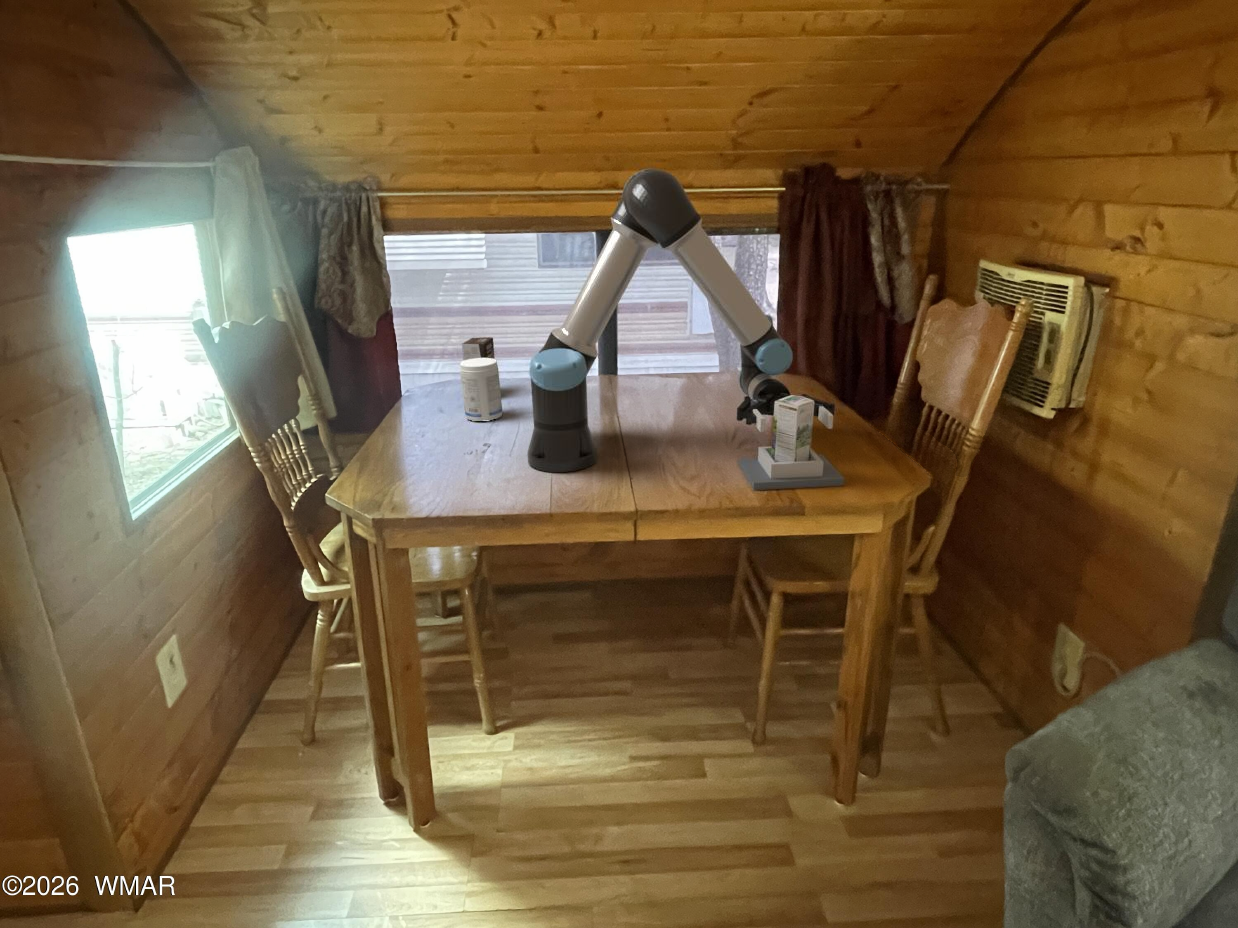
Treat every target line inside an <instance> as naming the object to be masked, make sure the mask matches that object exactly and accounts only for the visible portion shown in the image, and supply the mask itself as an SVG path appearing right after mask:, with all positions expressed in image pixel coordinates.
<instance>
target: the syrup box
mask: <svg viewBox="0 0 1238 928" xmlns="http://www.w3.org/2000/svg"><path fill="white" fill-rule="evenodd" d="M801 396H802V395H801ZM801 396H800V395H794V394H790V396H787V397H785V398H782V399H779V400H776V401H775V404H774V415H773V422H772V423H773V424H772V439H771V446H772V451H771V458H772V459H773V460H774V462H795V461H810V450H811V449H812V448H811V447H812V437H813V425H814V416H813V414H814V402H815V401H814V400H811V399H808V398H805V397H801Z"/></svg>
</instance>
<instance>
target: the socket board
mask: <svg viewBox="0 0 1238 928" xmlns="http://www.w3.org/2000/svg"><path fill="white" fill-rule="evenodd" d="M771 451H772V445H771V446H770V445H769V446H758V451H757V452H758V454H757V457H740V458H739V457H738V459H737V460H738V461H737V466H738V467H739V469H740V470H741V472H742V474H743V475H744V477H745V479H746V480H747V482H748V484H749V485H750V487H751V488H752V490H753V491H763V490H765V491H766V490H781V489H782V490H783V489H802V488H821V487H840V486H841V487H842V486H843V485H844V486H845V477H844V476H842V474H841V473H840V472H839V471H838V470H837V469H836V468H835V467H834V466H833V465H832V464H831V462H830V461H828V460H827V458H826V457H825V456H824V455H823V454H820V453H819V454H818V453H817V452H815V451H814V450H813V448H811V450H810V461H795V462H774V460H773V459H772V458H771Z"/></svg>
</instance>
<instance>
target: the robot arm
mask: <svg viewBox="0 0 1238 928" xmlns="http://www.w3.org/2000/svg"><path fill="white" fill-rule="evenodd" d="M621 195H622V196H621V197H620V198H619V199H620V200H619V201H618V203H617V204H616V207H615V209H614V211H613V213H612V214H611V216H610V221H611V225H612V229H611V230H612V231H610V234H609V235H608V238H607V240H606V242H605V244H604V245H603V247H602V249H601V251H600V253H599V255H598V256H597V259H596V261H595V262H594V264H593V267H592V268H591V270H590V271H589V273H588V276H587V277H586V280H585V282H584V284H583V285H582V287H581V289H580V291H579V293H578V295H577V297H576V299H575V300H574V302H573V305H572V306H571V308H570V310H569V312H568V314H567V316H566V317H565V319H564V322H563V324H562V326H560V327H557V328H554V329H552V330H551V332H550V333H549V335H548V337H547V339H546V341H545V343H544V345H543V346H542V347H541V349H540V350H538V352H537V353H535V354H534V355H533V356H532V358H531V359H530V362H529V363H530V364H529V377H530V383H531V385H530V386H531V387H530V388H531V404H532V419H533V431H532V434H531V437H530V438H531V439H530V441H529V445H528V450H527V463H528V465H529V466H530V467H531V466H532V468H533V469H535V468H536V470H539V471H542V472H548V473H549V472H550V473H565V472H566V473H567V472H568V471H569V472H575V471H580V470H584V469H587V468H589V467H592V466H593V465H594V464H596V463H597V461H598V449H597V446H596V443H595V441H594V440H595V439H594V438H593V435H592V432H591V430H590V427H589V418H588V413H589V411H588V391H587V390H588V389H587V385H588V384H587V376H588V374H589V372H590V370H591V369H592V366H593V365H594V362H595V361H596V359H597V358H598V356H599V355H598V354H599V353H598V350H597V346H596V345H597V343H598V342H599V339H600V337H601V336H602V334H603V332H604V331H605V328H606V326H608V323H609V321H610V319H611V317H612V316H613V314H614V311H615V310H616V308H617V306H618V304H619V303H620V301H621V299H622V297H623V296H624V294H625V292H626V290H627V288H628V287H629V286H628V285H629V284H630V282H631V281H632V279H633V276H634V275H635V273H636V271H637V269H638V268H639V265H641V261H642V260H643V258H644V256H645V254H646V253H647V251H648V249H651V248H654V247H657V246H660V247H661V248H662V249H663V250H665V251H671V253H672V255H673V256H674V257H675V258H676V259H677V261H678V262H679V263H680V265H681V266H682V268H683V269H684V270H685V272H686V273H687V274H688V276H689V277H690V278H691V279H692V281H693V282H694V283H695V285H696V286H697V287H698V289H699V290H700V292H701V293H702V294H703V296H704V297H705V298H706V300H707V301H708V302H709V303H710V305H711V306H712V307H713V309H714V310H715V311H716V313H717V314H718V315H719V317H720V318H721V320H722V321H723V322H724V323H725V325H726V327H728V328H729V330H730V331H731V333H732V334H733V336H734V337H735V338H736V339H737V340H738V342H739V344H740V361H741V363H740V365H741V366H740V368H741V370H740V371H739V375H738V384H739V387H740V389H741V391H742V392H743V394H744V395H746V396H744V397H743V401H742V402H741V403H740V405H739V406H737V407H736V421H739V422H741V421H744V419H745V425H748V426H750V425H752V424H753V425H754V426H755V427H756V428H757V430H758V431H759V432H760V433H764V432H765V420H766V419H765V417H764V416H774V404H775V401H776V400H779V399H782V398H785V397H787V396H790V395H791V392H790V391H789V389H788V387H787V386H786V385H785V384H784V382H782V381H781V380H780V379H779V378H777V377H776V376H779V375H781V374H783V373H785V372H786V371H787V370H788V369H789V368H790V367H791V364H792V363H793V356H794V353H793V351H792V348H791V347H790V345H789V344H788V342H787V341H786V340H785V339H783V338H782V336H781V335H780V333H778V331H777V329H776V328H775V326H774V320H773V318H772V316H771V315H769V314H765V313H764V312H763V310H762V309H761V307H760V306H759V305H758V303H757V302H756V300H755V298H754V297H753V296H752V294H751V293H750V292H749V291H748V289H747V287H745V285H744V284H743V282H742V281H741V280H740V278H739V277H738V275H737V274H736V273H735V271H734V270H733V269H732V267H731V266H730V264H729V263H728V262H727V260H726V259H725V257H724V256H723V255H722V253H721V252H720V250H719V249H718V247H716V245H715V243H714V242H713V240H712V239H711V237H709V235H708V234H707V233H706V231H705V230H704V229H703V227H702V224H703V223H702V222H703V221H702V220H703V218H702V217H701V215H700V214H699V212H698V211H697V208H695V205H693V202H692V201H691V199H689V197H688V194H687V192H686V190H685V189H684V187H683V186H682V183H681V182H680V180H679V179H678V178H677V177H676V176H675V175H673V174H672V173H671V172H668V171H666V170H662V169H655V168H646V169H642V170H639V171H637V172H636V173H635V174H634V175H632V176H631V177H630V178H629V179H628V180H627V182H626V183H625V185H624V187H623V189H622V193H621ZM801 397H805V398H808V399H811V400H814V401H815V402H814V414H813V417H816V418H817V419H818V420H819V421H820V422H821V423H822V424H823V425H824V426H825V427H826V428H827V429H829V430H830V429H833V423H834V417H835V411H836V409H835V408H836V404H834V403H831V402H829V401H826V400H822V399H819V398H816V397H813V396H810V395H808V394H807V393H802V394H801ZM569 472H568V473H569Z"/></svg>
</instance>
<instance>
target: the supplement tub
mask: <svg viewBox="0 0 1238 928" xmlns="http://www.w3.org/2000/svg"><path fill="white" fill-rule="evenodd" d="M459 367H460V368H459V371H460V380H461V390H462V399H463V401H462V402H463V407H464V408H463V409H464V417H465V418H466V419H467V420H468V419H469V420H468V421H470V420H474V421H483V420H492V421H494V420H493V419H496V420H498V419H499V417H500V418H501V417H502V415H503V405H502V404H503V403H502V394H501V383H500V372H499V365H498V361H497V360H496V359H492V358H474V359H468V360H465V361H463V360H462V361H461V362H460V363H459ZM497 418H498V419H497ZM474 421H473V422H474Z"/></svg>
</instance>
